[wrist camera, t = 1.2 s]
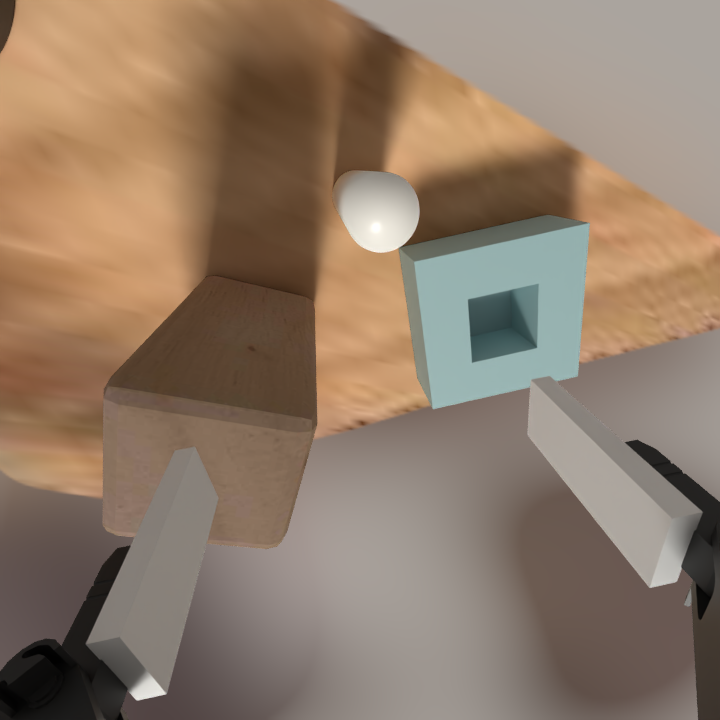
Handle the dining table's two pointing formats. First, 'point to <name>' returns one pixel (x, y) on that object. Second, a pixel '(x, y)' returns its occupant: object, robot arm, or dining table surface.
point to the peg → (376, 208)
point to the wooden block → (217, 410)
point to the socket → (496, 307)
